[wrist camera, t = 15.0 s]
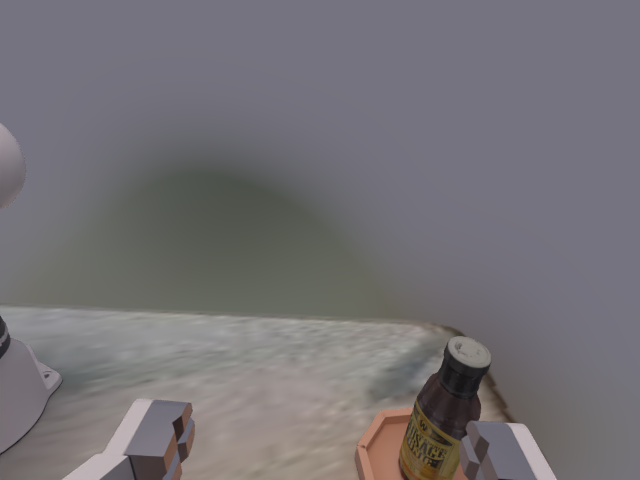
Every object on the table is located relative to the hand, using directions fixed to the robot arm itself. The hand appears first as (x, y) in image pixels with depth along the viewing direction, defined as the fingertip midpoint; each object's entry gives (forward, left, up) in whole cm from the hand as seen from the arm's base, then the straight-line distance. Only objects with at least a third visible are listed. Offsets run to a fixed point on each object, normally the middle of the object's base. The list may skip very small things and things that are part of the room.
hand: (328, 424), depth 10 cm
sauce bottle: (+1, +23, -33) cm, 40 cm away
